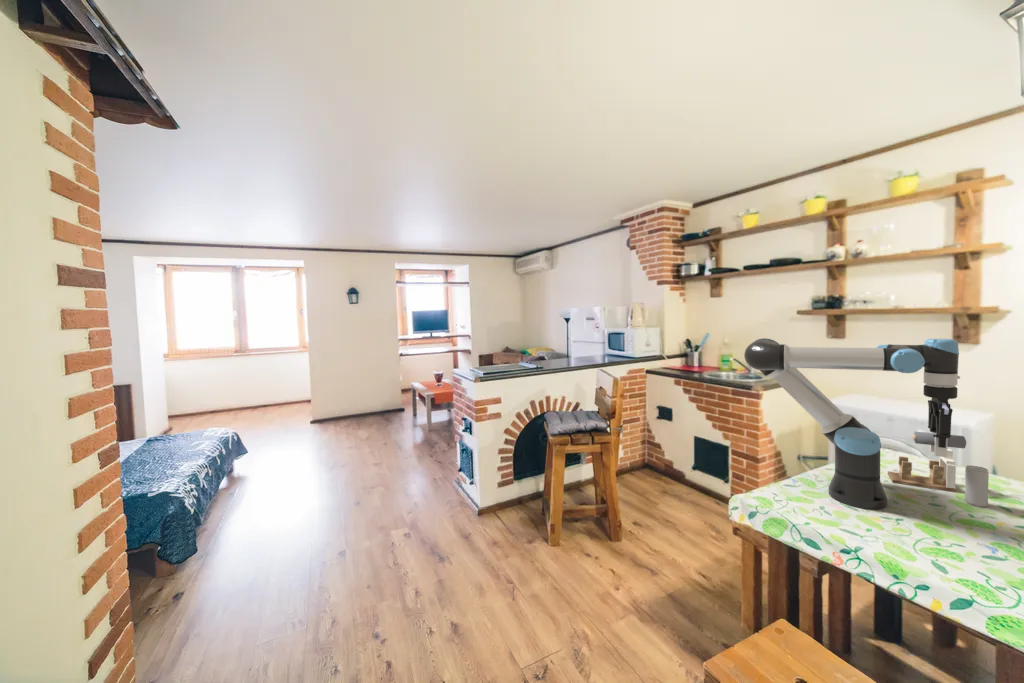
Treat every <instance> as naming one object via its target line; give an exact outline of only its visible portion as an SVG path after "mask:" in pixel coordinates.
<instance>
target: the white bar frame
mask: <svg viewBox="0 0 1024 683" xmlns="http://www.w3.org/2000/svg"><path fill="white" fill-rule="evenodd" d="M953 454H954V451H953V450H952V449H951V448H947V457H940V456H939V466H943V467H944V475H943V479H944V480H946V487H947V488H954V489H955V488H956V476H957V475H956V474H957V472H956V470H957V468H956V466H957V465H956V461H955V460H954V459H953V457H954V455H953Z"/></svg>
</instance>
